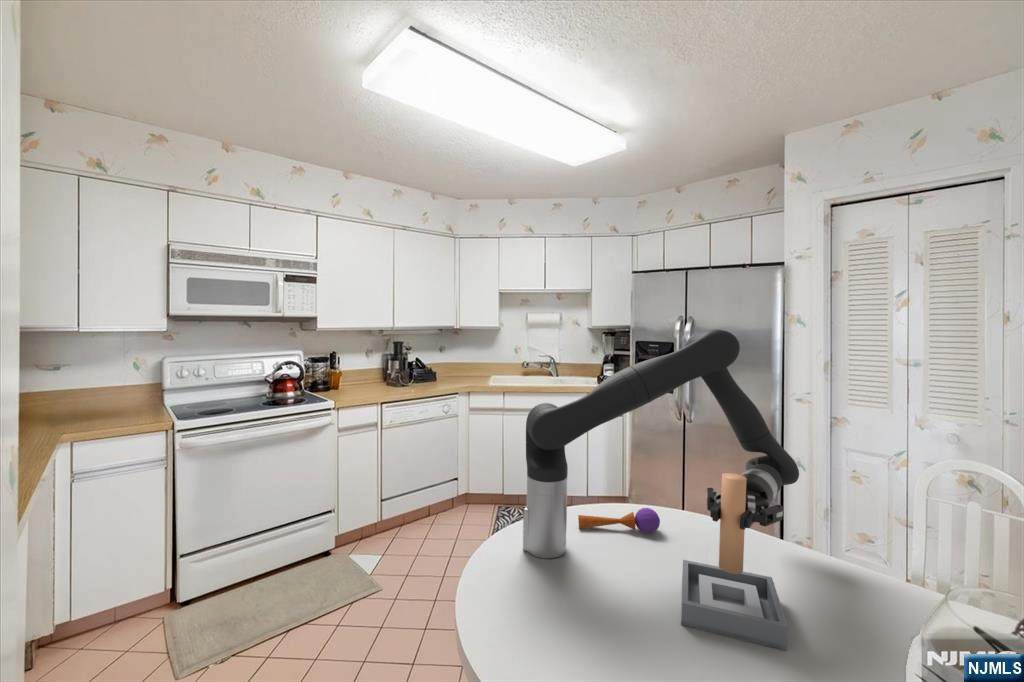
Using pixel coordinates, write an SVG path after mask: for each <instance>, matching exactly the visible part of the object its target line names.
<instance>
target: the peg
mask: <svg viewBox="0 0 1024 682" xmlns="http://www.w3.org/2000/svg"><path fill="white" fill-rule="evenodd" d="M720 488H721V490H720V493H721V514H720V519H719V521H720V522H719V543H718V544H719V545H718V546H719V548H718V550H719V551H718V567H720V569H722V570H723V571H725V572H727V573H731V574H741V573H742V572H744V555H745V553H744V552H745V531H746V529H745V530H743V529H740V517H741V515H742V514H743V513H744V512H745V505H746V477H744V476H742V475H741V474H738V473H733V472H724V473H722V474H721V487H720Z"/></svg>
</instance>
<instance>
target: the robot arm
mask: <svg viewBox="0 0 1024 682" xmlns="http://www.w3.org/2000/svg"><path fill="white" fill-rule="evenodd" d="M740 350H741V346H740V341H739V340H738V338H737V337H736V336H735V335H734V334H733V333H732V332H729V331H727V330H725V329H718V328H717V329H715V328H714V329H710V330H709V329H708V330H702V331H698V332H696V333H693V334H692V335H690V337H688V339H687V341H686V343H685V346H684V347H682V348H680V349H678V350H676V351H673V352H671V353H667V354H664V355H661V356H656V357H651V358H650V359H646V360H644V361H640V362H638V363H635V364H633V365H628V366H627V367H626V368H623V369H621V370H619V371H617V372H615V373H613V374H611V375H609V376H608V377H606V378H605V379H603V381H601V382H600V383H599V384H598V385H597V386H595V387H594V388H593V389H592V390H591V391H590V392H588V393H587V394H585V395H584V396H582V397H581V398H578V399H575V400H574V401H571V402H569V403H566V404H564V405H561V406H557V405H555V404H553V403H549V402H544V403H539V404H537V405H535V406H534V407H532V408H531V410H530V411H529V413H528V414H527V417H526V423H525V461H526V506H525V507H524V508H523V511H522V512H523V514H522V515H523V519H522V520H523V521H522V523H523V524H522V526H523V527H522V528H523V529H522V530H523V531H522V534H523V535H522V551H525V552H528V553H529V554H530V555H533V556H534V557H537V558H542V559H554V558H558V557H560V556H562V555H564V554H565V552H566V551H567V523H568V522H567V518H568V517H567V515H568V514H567V513H568V512H567V511H568V474H569V473H568V462H567V456H566V450H565V449H566V446H567V445H569V444H570V443H571V442H573V441H575V440H577V439H578V438H580V437H581V436H583V435H584V434H586V433H588V432H590V431H591V430H593V429H594V428H596V427H600V426H601V425H604V424H605V423H607V422H610V421H612V420H615V419H617V418H620V417H621V416H623V415H625V414H627V413H630V412H633V411H635V410H637V409H639V408H641V407H644V406H645V405H648V404H649V403H652V402H654V400H657V399H658V398H661V397H662V396H665V395H666V394H668V393H670V392H673V391H674V390H675V389H678V388H679V387H681V386H682V385H684V384H686V383H688V382H690V381H694V380H695V379H697V378H701V379H702V380H703V381H704V383H705V384H706V386H707V387H708V389H709V391H710V392H711V394H712V395H713V397H714V398H715V400H716V402H717V403H718V405H719V406H720V408H721V410H722V411H723V413H724V415H725V417H726V419H727V421H728V423H729V425H730V427H731V429H732V431H733V432H734V434H735V437H736V438H737V440H738V442H739V444H740V446H741V448H742V449H743V450H744V451H746V452H749V453H750V452H751V453H762V454H764V455H762V456H757V457H754V458H750V459H749V460H747V461H746V463H745V469H746V471H744V472H741V473H740V475H742V476H744V477H746V505H745V512H744V513H743V514H742V515H741V517H740V529H743V530H745V531H746V529H750V528H751V527H752V526H753V525H756V523H758V524H759V526H762V527H768V526H770V525H773V524H775V523H777V522H780V521H783V513H784V506H783V505H781V504H775V505H773V503H774V502H775V499H776V498H777V494H778V493H779V491H780V490H781V488H782V487H783V486H787V485H793V484H796V483H797V482H798V479H799V477H800V469H799V467H798V465H797V463H796V461H795V460H794V458H793V457H792V456H791V454H789V453H788V451H786V450H785V449H784V447H783V446H781V444H780V443H779V442H778V441H777V440H776V438H775V437H774V436H773V434H772V433H771V431H770V429H769V426H768V425H767V423H766V420H765V419H764V417H763V415H762V413H761V412H760V410H759V408H757V407H758V406H756V405H755V403H754V402H753V401H752V400H751V398H750V397H748V395H747V394H746V393H745V392H744V391H743V389H741V387H740V386H739V385H738V383H737V382H736V380H735V379H734V378H733V376H732V374H731V373H730V370H729V369H728V367H730V366H731V365H733V364H734V362H735V361H736V360H737V359H738V356H739V354H740ZM706 488H707V489H706V510H707V511H709V512H710V517H709V518H711V519H712V521H713V522H716V523H717V522H718V521H720V514H721V492H717V490H715V488H713V487H706Z"/></svg>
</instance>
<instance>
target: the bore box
mask: <svg viewBox="0 0 1024 682" xmlns="http://www.w3.org/2000/svg"><path fill="white" fill-rule="evenodd" d="M681 575H682V578H681V579H682V580H681V611H680V613H681V614H680V617H681V620H680V624H681V625H680V626H685V627H688V628H689V627H690V628H691V629H692V628H693V629H696V630H700V631H704V632H709V633H713V634H717V635H721V636H725V637H728V638H729V637H730V638H733V639H737V640H741V641H746V642H749V643H753V644H757V645H761V646H765V647H769V648H772V649H777V650H782V651H786V652H787V649H788V633H789V632H788V631H789V627H788V622H787V621H786V617H785V614H784V611H783V608H782V605H781V602H780V598H779V595H778V593H777V590H776V586H775V583H774V579H773V577H772V576H767V575H762V574H758V573H754V572H753V573H752V572H748V571H743V572H742V573H741V574H731V573H727V572H725V571H723V570H722V569H720V567H719V565H718V566H717V565H711V564H707V563H703V562H697V561H693V560H688V559H682V574H681Z"/></svg>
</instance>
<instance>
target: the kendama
mask: <svg viewBox="0 0 1024 682" xmlns="http://www.w3.org/2000/svg"><path fill="white" fill-rule="evenodd" d="M577 516H578V517H577V518H578V529H579V530H580V529H588V528H595V527H596V528H597V527H604V526H611V525H618V524H619V525H620V524H621V525H623V526H625V527H628V528H630V529H632V530H636V528H637V529H638V530H639V531H640V532H642V533H645V534H653V533H655V532H656V531H657V530H658V529H659V528H660V524H661V519H660V516H659V515H658V513H657V511H655V510H654V509H652V508H649V507H643V508H640V509H638V511H636V512H635V513H634V511H632V512H630V513H628V514H626V515H624V516H622V517H620V518H615V517H607V516H606V517H604V516H594V515H586V514H585V515H583V514H577Z"/></svg>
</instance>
